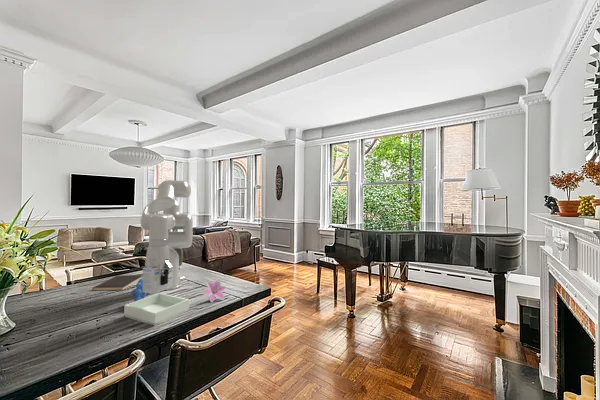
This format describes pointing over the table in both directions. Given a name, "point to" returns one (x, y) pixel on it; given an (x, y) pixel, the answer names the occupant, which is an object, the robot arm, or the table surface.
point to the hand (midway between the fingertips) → (158, 282)
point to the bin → (156, 308)
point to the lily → (214, 290)
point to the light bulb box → (155, 280)
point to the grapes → (139, 291)
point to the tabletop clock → (180, 253)
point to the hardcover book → (118, 282)
